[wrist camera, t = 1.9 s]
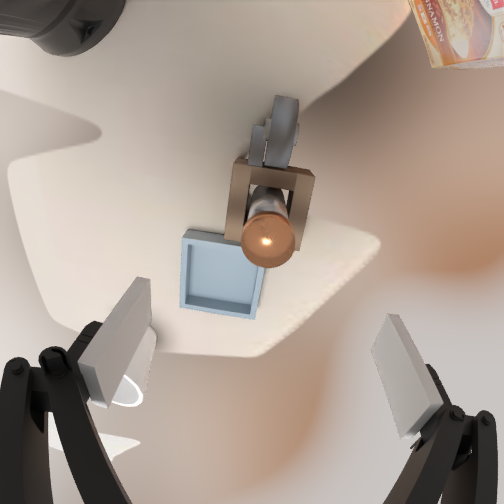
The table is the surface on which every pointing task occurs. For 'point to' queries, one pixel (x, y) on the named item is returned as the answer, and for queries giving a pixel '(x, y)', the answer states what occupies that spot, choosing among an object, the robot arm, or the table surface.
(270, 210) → the pin
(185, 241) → the tray
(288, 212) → the pulley block
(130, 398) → the foam cup
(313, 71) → the table surface
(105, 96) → the table surface
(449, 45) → the coffeecake box
